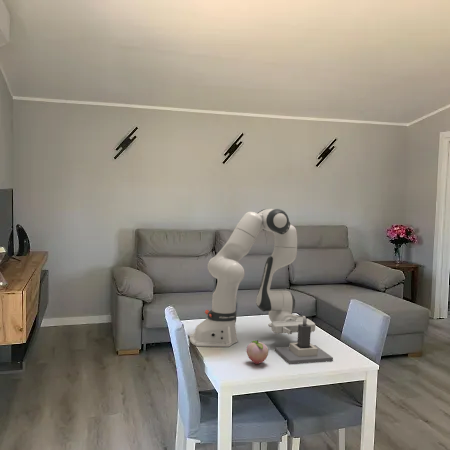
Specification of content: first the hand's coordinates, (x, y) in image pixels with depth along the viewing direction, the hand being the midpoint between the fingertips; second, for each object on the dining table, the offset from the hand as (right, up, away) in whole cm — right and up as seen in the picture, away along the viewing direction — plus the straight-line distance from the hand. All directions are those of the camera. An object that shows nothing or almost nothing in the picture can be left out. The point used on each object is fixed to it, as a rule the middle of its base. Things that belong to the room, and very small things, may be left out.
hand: (300, 332), depth 205 cm
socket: (+1, -10, -3) cm, 10 cm away
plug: (+1, -8, -3) cm, 9 cm away
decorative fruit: (-20, -10, -14) cm, 26 cm away
